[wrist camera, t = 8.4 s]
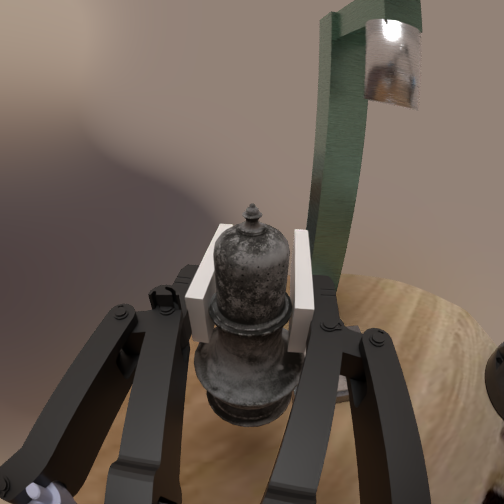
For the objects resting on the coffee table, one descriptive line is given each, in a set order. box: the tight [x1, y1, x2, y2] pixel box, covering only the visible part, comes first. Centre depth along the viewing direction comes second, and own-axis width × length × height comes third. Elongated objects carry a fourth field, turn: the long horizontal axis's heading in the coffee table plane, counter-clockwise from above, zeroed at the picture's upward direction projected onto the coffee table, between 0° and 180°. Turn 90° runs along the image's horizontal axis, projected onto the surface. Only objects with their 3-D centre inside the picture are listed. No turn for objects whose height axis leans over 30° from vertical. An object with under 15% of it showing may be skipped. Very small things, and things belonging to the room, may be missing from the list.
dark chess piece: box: [194, 204, 305, 427], centre depth 13 cm, size 6×6×12 cm
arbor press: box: [291, 0, 422, 403], centre depth 21 cm, size 10×17×46 cm, turn 3°
